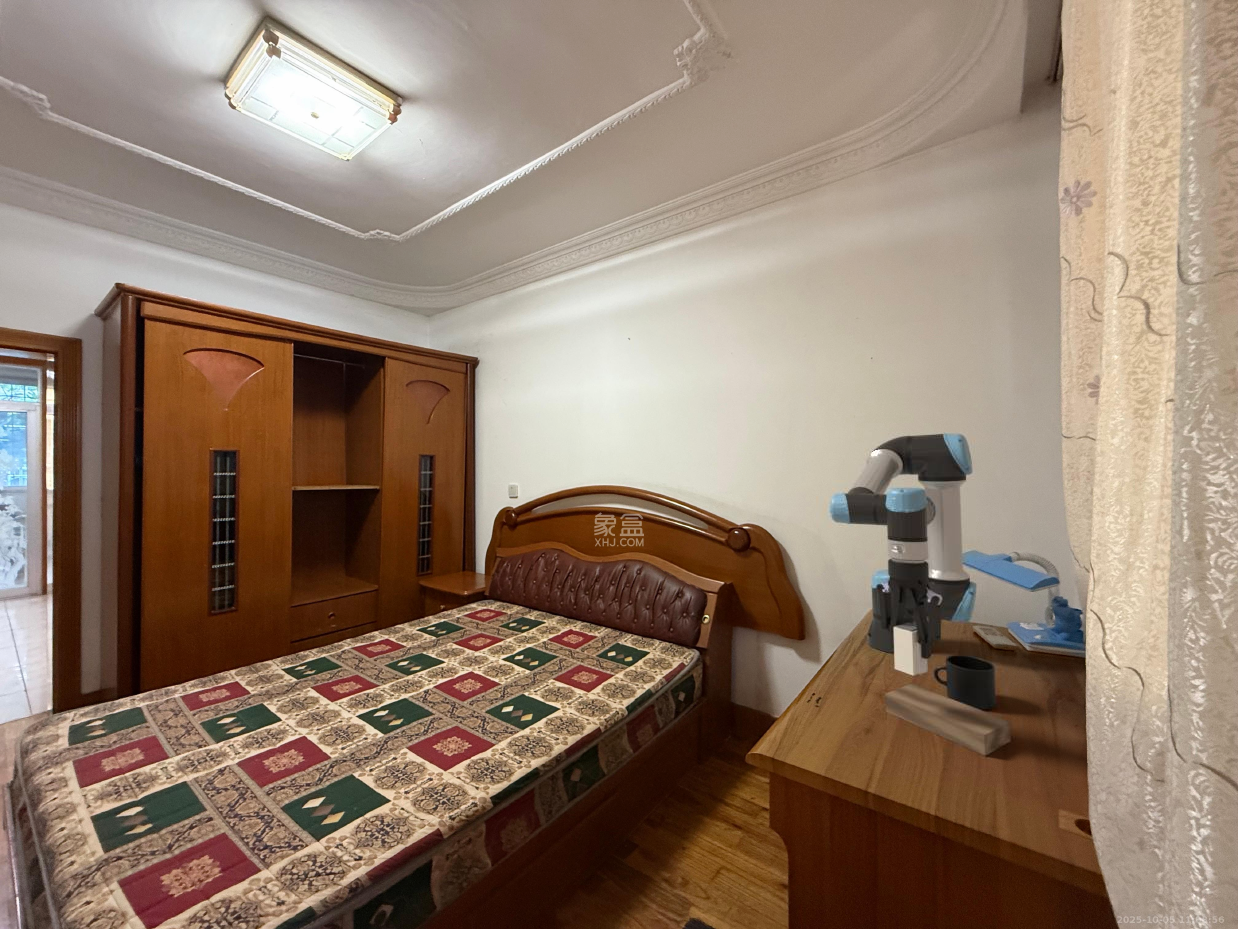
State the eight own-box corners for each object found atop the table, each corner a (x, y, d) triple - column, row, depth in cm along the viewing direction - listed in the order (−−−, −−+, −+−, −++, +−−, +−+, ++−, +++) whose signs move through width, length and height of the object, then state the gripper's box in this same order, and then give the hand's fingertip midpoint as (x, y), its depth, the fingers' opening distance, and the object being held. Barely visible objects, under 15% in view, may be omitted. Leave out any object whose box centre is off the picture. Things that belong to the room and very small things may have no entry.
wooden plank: (911, 700, 116) (911, 683, 116) (1010, 741, 98) (1010, 721, 99) (885, 711, 111) (885, 694, 111) (984, 756, 94) (984, 735, 94)
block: (908, 664, 107) (907, 621, 107) (927, 670, 104) (925, 626, 104) (894, 668, 105) (893, 625, 105) (913, 675, 102) (912, 631, 102)
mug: (936, 685, 123) (935, 649, 124) (996, 698, 116) (995, 660, 116) (932, 700, 116) (930, 662, 116) (995, 715, 109) (994, 674, 109)
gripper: (860, 555, 110) (863, 658, 110) (939, 568, 95) (943, 687, 95) (881, 552, 114) (883, 652, 114) (960, 564, 99) (963, 679, 99)
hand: (910, 668), depth 104 cm, fingers closed on block, 4 cm apart
